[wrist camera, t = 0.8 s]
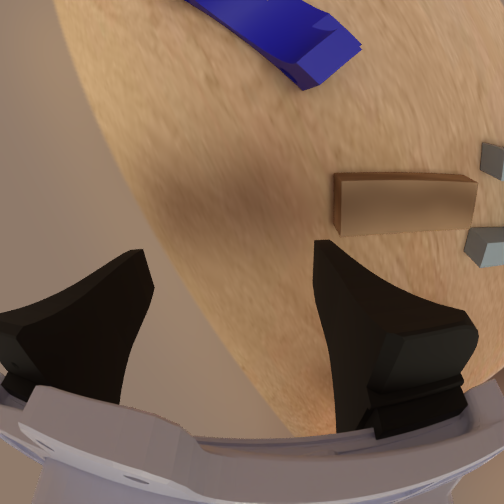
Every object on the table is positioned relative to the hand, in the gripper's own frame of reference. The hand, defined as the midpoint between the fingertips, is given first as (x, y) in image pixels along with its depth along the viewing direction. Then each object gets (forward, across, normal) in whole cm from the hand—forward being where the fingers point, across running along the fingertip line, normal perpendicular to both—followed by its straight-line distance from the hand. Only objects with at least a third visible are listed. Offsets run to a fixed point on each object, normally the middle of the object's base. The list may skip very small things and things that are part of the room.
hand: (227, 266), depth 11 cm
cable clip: (+10, -2, -13) cm, 16 cm away
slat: (+10, -13, +1) cm, 16 cm away
